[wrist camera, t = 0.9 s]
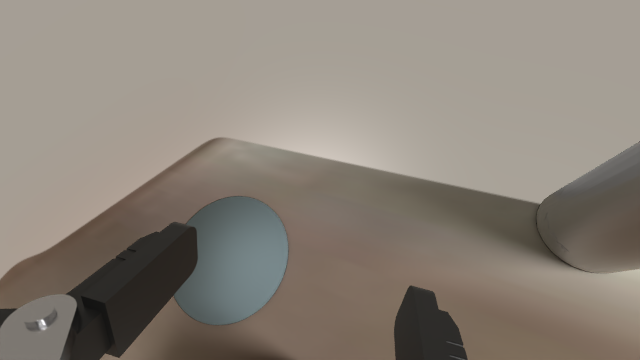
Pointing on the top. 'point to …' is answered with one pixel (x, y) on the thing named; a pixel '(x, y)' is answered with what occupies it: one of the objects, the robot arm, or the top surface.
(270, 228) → the mat
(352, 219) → the top surface
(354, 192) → the top surface
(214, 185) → the top surface
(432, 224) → the top surface
